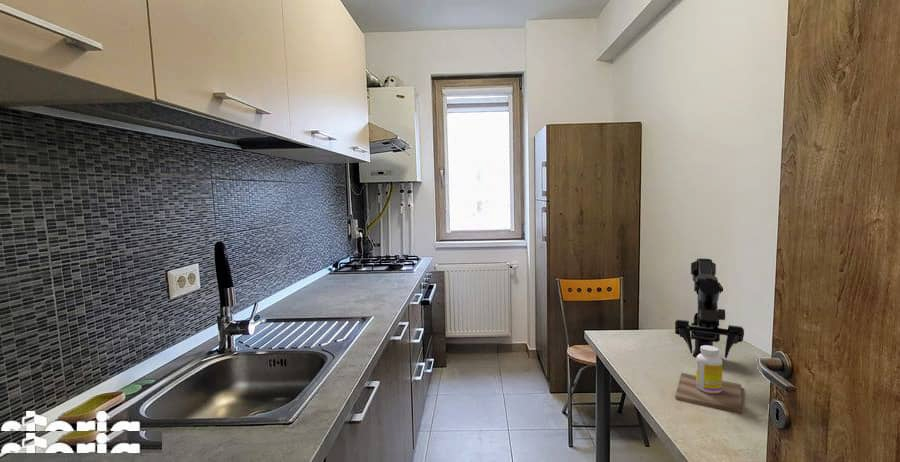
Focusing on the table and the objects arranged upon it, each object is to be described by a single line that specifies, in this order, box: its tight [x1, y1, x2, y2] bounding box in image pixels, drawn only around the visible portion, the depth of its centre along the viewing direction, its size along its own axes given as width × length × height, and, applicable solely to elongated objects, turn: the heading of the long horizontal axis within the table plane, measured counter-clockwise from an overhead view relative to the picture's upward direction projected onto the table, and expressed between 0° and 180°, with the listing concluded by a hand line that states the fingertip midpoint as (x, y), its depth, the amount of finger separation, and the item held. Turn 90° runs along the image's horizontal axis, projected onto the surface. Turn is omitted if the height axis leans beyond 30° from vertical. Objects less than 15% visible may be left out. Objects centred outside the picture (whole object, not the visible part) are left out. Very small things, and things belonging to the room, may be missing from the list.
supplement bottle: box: [695, 345, 723, 394], centre depth 124 cm, size 7×7×13 cm
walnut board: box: [674, 372, 743, 415], centre depth 125 cm, size 18×16×1 cm
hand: (708, 355), depth 130 cm, fingers open, 9 cm apart
